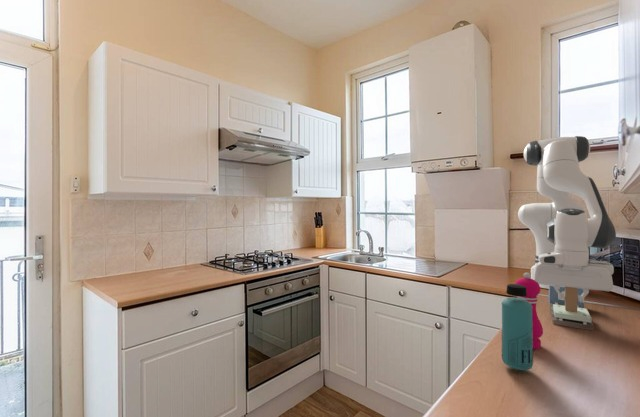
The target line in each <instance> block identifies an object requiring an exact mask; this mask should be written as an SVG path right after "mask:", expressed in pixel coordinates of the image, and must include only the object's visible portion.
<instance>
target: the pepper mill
mask: <svg viewBox="0 0 640 417" xmlns="http://www.w3.org/2000/svg"><path fill="white" fill-rule="evenodd" d="M522 275H523V277H521V278H518V279H517V280H516V281H515V283H514V284H518V285H523V286H525V287H526V291H527V296H516V298H522V299H525V300H527V301H528V302H529V303H530V304H531V305H532V307H533V308H532V322H533V350H539V349H541V347H542V345H541V344H542V341H541V339H540V338H541V337H542V336H543V334H544V328H543V325H542V323H541V320H540V319H539V316H538V313H537V303H539V297H538V295H539V294H540V293H541V287H540V286H539V284H538V282H536V281H535V280H533V279H531V273H530V272H524V273H523V274H522Z"/></svg>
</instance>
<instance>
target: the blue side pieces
mask: <svg viewBox="0 0 640 417" xmlns="http://www.w3.org/2000/svg"><path fill="white" fill-rule="evenodd" d="M558 290H559V291H560V293H562V294H564V300H559V299H558V293H557V292H556V290H555V288H554V285H549V289H548V305H549V306H550V303H554V304H555V302H558V304H561V305H565V287H563V286H560V289H558ZM582 294H583V290H582V288H577V305H578V306H579V307H584V308H585V302H584V303H583V302H578V295H579V296H581V295H582Z"/></svg>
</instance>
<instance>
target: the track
mask: <svg viewBox="0 0 640 417" xmlns="http://www.w3.org/2000/svg"><path fill="white" fill-rule="evenodd" d="M553 304H554V303H550V307H549V311H550V316H551V319H552V320H551V321H552V324H553V325H557V326H563V327H570V328H576V329H581V330H587V331H594V330H595V328H594V327H595V326H594V324H593V322H592V321H591V323H590V322H583V321H577V320H570V319H563V318H557V317H555V315H554V311H553ZM555 305H561V304H558V302H555ZM562 306H565V305H562ZM577 308H585V306H584V307H579V306H578V305H577Z"/></svg>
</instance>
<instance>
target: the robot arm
mask: <svg viewBox="0 0 640 417" xmlns="http://www.w3.org/2000/svg"><path fill="white" fill-rule="evenodd" d="M590 151H591V144H590V142H589V140H588V139H587V137H585V136H579V135H575V136H559V137H555V138H554V137H553V138H546V139H542V140H541V139H540V140H533V141H530V142H528V143H527V144H526V145H525V148H524V150H523V158H524V160H525V163H526V164H527V165H530V166H534V167H535V166H536V167H537V169H536V191H537V193H539V194H540V195H541V196H542V197H545V198H547V199H549V200H551V201H552V202H534V203H527V204H522V205H521V206H520V208H519V209H518V211H517V216H518V217H517V218H518V220H519V222H520V223H521V224H523V225H524V226H525V227H527V228H528V229H529V230H530V231H531V233H532V234H533V236H534V239H535V240H534V241H535V248H536V250H535V253H536V254H535V255H534V263H535V264H533V266H531V268H530V275H531V278H530V279H533V280H535V281H536V282H538V284H539V286H540V289H541V288H542V289H547V290H549V285H554V288H555V290H556V292H557V293H558V299H559V300H564V294H562V293H560V291H559V290H558V289H560V286H563V287H572V288H582V290H583V294H582V295H581V296H579V295H578V302H583V303H584V304H585V298H586V297H587V296H588V294H589V293H590V292H589V291H591V290H593V291H601V292H603V291H604V292H611V291H612V290H614V282H613V276H612V275H613V274H614V272H615V270H614V269H615V267H614V265H613V264H612V263H611V262H609V261H608V260H607V261H606V260H597V259H596V260H595V259H590V257H589V256H590V255H589V254H590V252H589V247H590V248H597V249H605V248H607V247H609V246H611V245H612V244H614V242H616V237H617V231H616V228H615V225H614V224H613V222H612V220H611V218H610V216H609V214H608V212H607V209H606V207H605V203H604V202H603V199H602V196H601V195H600V192H599V189H598V187H597V185H596V182H595V180H593V178H592V177H591V176H587V175H586V174H585V173H584V172H583V171H582V170H581V168H580V164H579V163H581V162H583V161H585V160H586V159H587V158H588V157H589V155H590ZM570 194H571V195H574V196H577V197H579V198H581V199H582V200H583V201H584V204H585V206H586V209H587V210H586V209H585V207H584V206H582V204H580V203H578V202H577V201H576V200H574V199H573V198H572V196H571V195H570ZM587 212H588V214H589V217H590V218H589V217H588V215H587Z"/></svg>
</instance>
